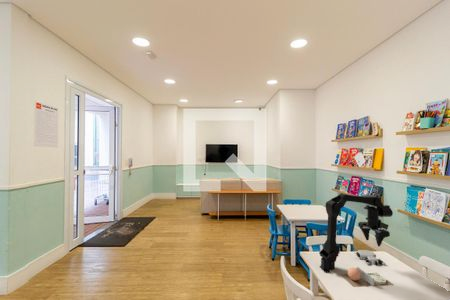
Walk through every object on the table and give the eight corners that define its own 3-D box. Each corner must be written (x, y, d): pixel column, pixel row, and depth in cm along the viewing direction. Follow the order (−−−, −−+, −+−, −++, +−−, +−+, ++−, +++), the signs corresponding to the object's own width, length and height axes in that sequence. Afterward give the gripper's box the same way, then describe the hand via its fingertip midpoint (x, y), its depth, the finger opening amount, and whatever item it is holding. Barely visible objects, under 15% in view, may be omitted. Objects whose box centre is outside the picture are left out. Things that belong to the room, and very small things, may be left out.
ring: (373, 284, 116) (373, 282, 116) (361, 274, 125) (361, 272, 125) (390, 283, 117) (390, 281, 117) (377, 273, 126) (377, 272, 126)
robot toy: (387, 269, 135) (371, 255, 150) (387, 261, 135) (371, 249, 150) (366, 268, 136) (352, 255, 151) (366, 261, 135) (352, 248, 150)
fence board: (353, 288, 113) (353, 279, 114) (339, 275, 125) (339, 267, 125) (394, 286, 115) (394, 278, 115) (376, 274, 127) (376, 266, 127)
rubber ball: (352, 283, 117) (352, 271, 117) (345, 276, 123) (345, 265, 123) (363, 282, 117) (363, 271, 117) (355, 276, 123) (355, 265, 123)
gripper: (398, 221, 126) (398, 249, 126) (374, 212, 145) (374, 237, 145) (380, 221, 125) (380, 250, 125) (357, 212, 144) (357, 237, 144)
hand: (373, 243), depth 135 cm, fingers open, 9 cm apart
